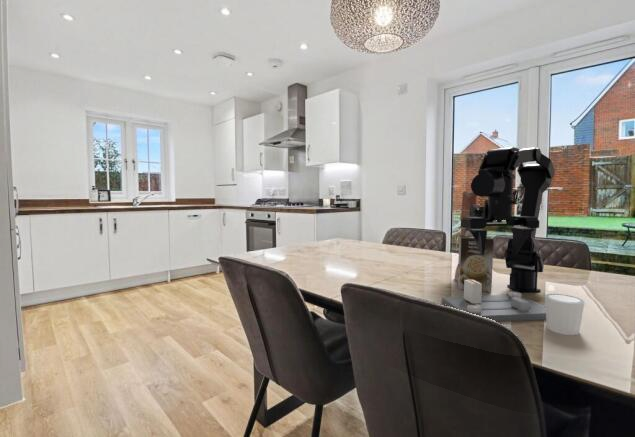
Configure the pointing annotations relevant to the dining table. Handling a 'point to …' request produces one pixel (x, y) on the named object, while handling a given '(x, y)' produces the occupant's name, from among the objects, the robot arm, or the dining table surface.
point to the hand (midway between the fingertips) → (498, 254)
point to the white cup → (563, 313)
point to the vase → (466, 215)
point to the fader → (472, 291)
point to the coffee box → (475, 262)
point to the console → (500, 307)
